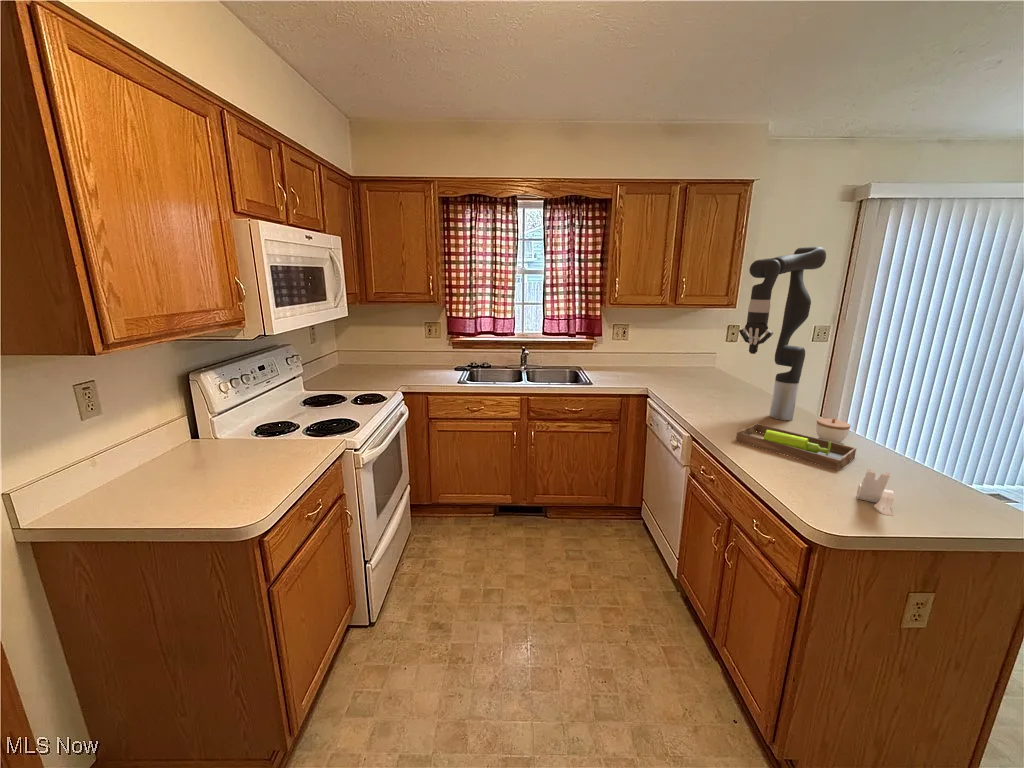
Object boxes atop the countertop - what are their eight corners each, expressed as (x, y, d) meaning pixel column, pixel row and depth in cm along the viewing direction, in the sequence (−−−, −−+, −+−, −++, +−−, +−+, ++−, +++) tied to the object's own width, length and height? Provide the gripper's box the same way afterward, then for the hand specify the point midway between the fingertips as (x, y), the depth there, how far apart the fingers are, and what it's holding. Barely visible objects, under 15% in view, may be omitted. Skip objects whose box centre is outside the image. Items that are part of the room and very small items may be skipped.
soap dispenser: (770, 428, 169) (832, 441, 156) (765, 445, 169) (828, 460, 155) (766, 425, 165) (831, 439, 151) (762, 443, 164) (826, 459, 151)
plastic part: (889, 502, 126) (897, 464, 124) (894, 517, 118) (903, 477, 116) (856, 494, 130) (864, 458, 128) (859, 508, 122) (867, 470, 120)
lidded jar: (839, 438, 177) (844, 415, 175) (851, 447, 167) (856, 424, 165) (809, 435, 180) (813, 413, 178) (819, 444, 170) (823, 421, 168)
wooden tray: (755, 431, 183) (756, 423, 183) (854, 457, 158) (856, 448, 157) (735, 440, 172) (736, 432, 172) (838, 470, 147) (840, 460, 146)
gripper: (780, 311, 174) (773, 354, 178) (746, 309, 184) (740, 350, 188) (772, 312, 170) (765, 356, 174) (737, 310, 180) (732, 352, 184)
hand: (752, 353), depth 181 cm, fingers closed
